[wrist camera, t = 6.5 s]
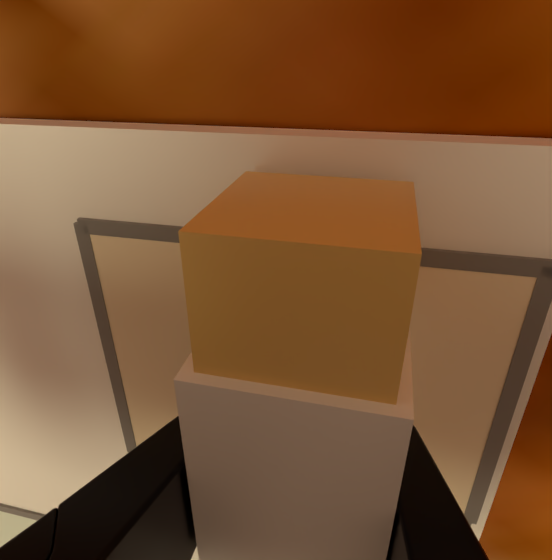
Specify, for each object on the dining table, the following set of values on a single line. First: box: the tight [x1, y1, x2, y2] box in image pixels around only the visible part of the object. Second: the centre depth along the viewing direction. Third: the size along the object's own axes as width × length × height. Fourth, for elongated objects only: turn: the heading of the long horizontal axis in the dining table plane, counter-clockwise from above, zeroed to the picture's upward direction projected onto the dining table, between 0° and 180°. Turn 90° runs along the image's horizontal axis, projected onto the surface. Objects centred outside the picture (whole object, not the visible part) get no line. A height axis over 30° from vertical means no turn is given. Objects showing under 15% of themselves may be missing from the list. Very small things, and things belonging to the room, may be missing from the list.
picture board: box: [0, 118, 552, 560], centre depth 13 cm, size 20×18×1 cm
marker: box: [174, 171, 422, 560], centre depth 8 cm, size 9×3×3 cm, turn 1°
